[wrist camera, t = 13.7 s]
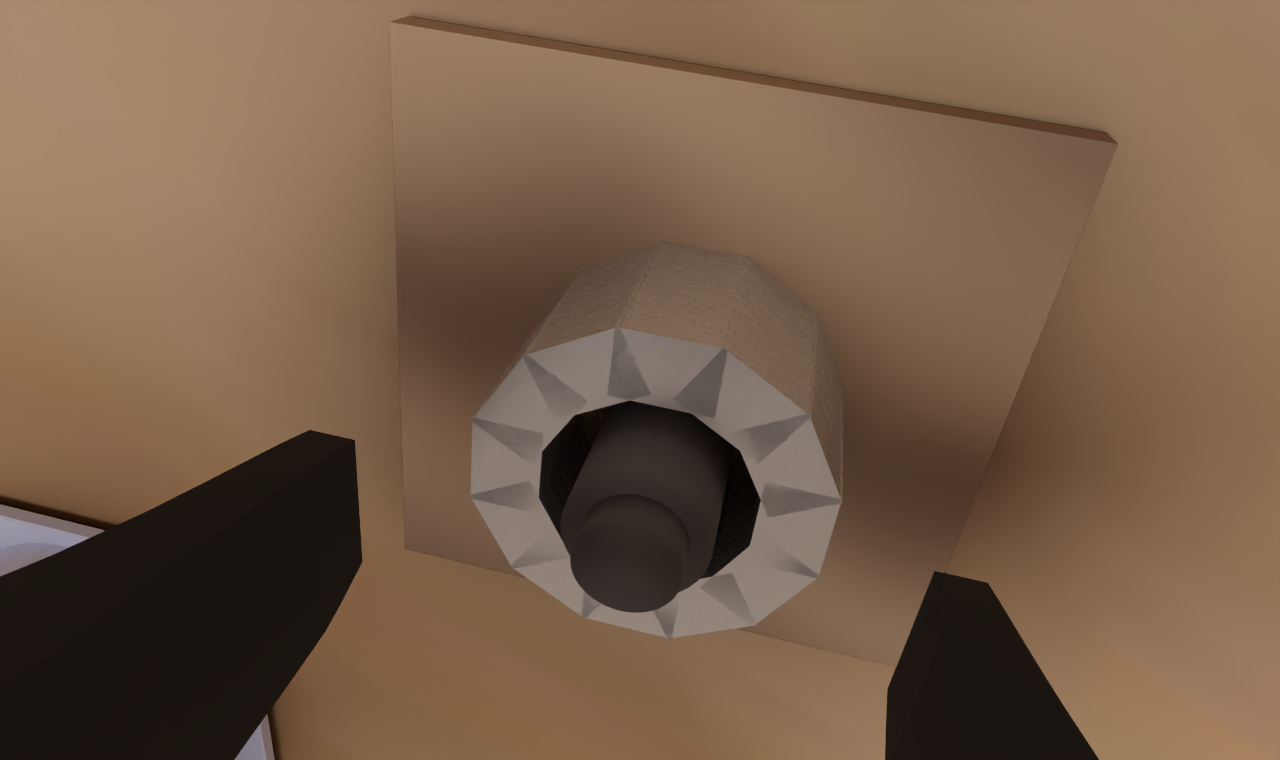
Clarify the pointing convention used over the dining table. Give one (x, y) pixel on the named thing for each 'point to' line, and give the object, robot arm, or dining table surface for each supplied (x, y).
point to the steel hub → (680, 380)
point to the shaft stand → (737, 224)
